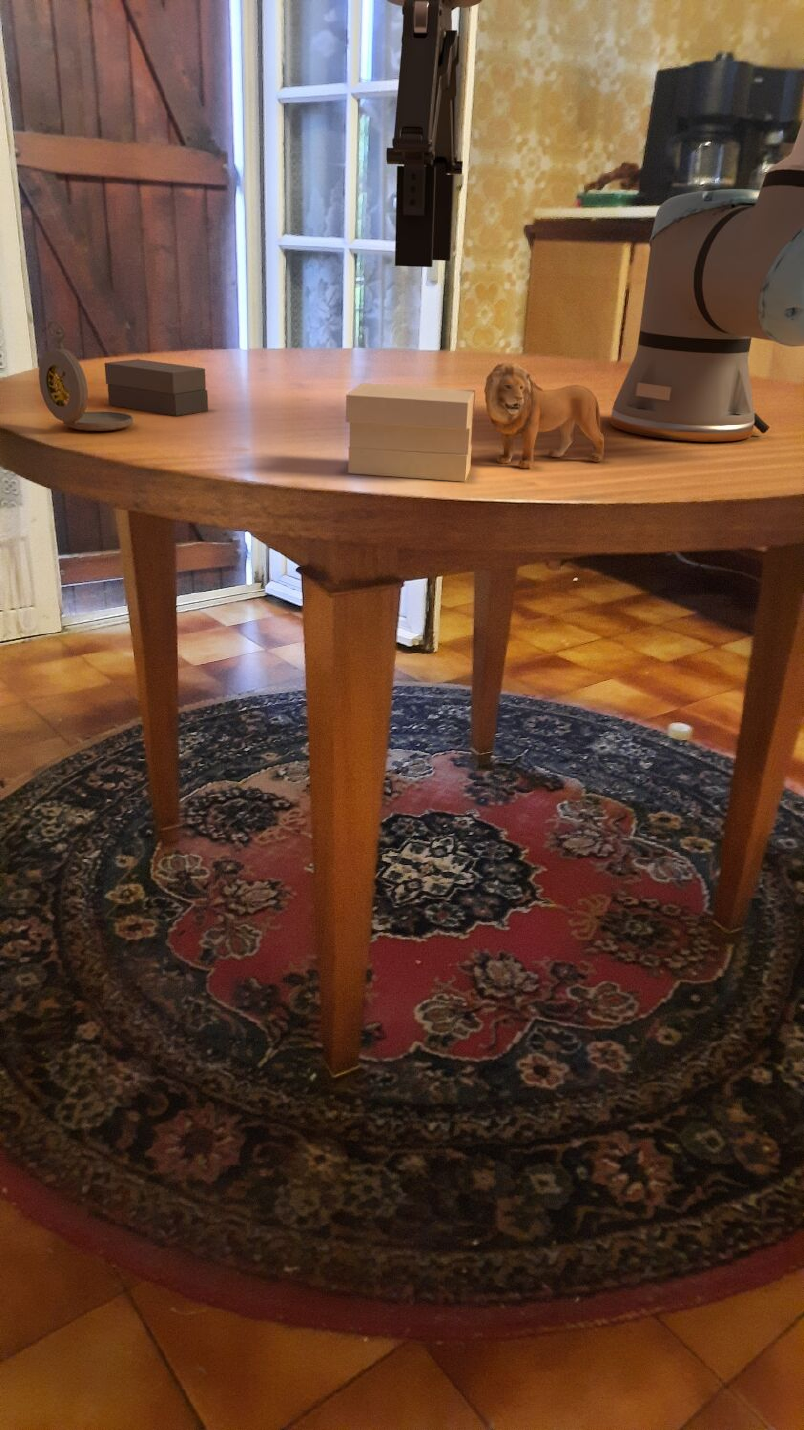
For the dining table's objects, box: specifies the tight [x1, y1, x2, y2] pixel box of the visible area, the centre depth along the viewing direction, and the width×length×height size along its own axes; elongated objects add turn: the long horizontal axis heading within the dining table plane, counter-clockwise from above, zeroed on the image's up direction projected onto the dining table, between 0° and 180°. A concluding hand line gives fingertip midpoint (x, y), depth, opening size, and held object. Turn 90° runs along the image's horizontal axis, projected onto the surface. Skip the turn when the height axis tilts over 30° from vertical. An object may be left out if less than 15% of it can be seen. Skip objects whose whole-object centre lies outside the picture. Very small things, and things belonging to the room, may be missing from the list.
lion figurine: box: [483, 361, 605, 470], centre depth 92 cm, size 15×5×9 cm, turn 127°
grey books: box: [104, 358, 209, 417], centre depth 111 cm, size 10×5×4 cm, turn 58°
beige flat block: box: [345, 382, 476, 430], centre depth 86 cm, size 10×7×2 cm
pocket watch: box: [38, 320, 134, 432], centre depth 97 cm, size 8×8×10 cm
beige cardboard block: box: [347, 417, 474, 483], centre depth 87 cm, size 10×5×4 cm, turn 82°
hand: (424, 263), depth 81 cm, fingers open, 13 cm apart
